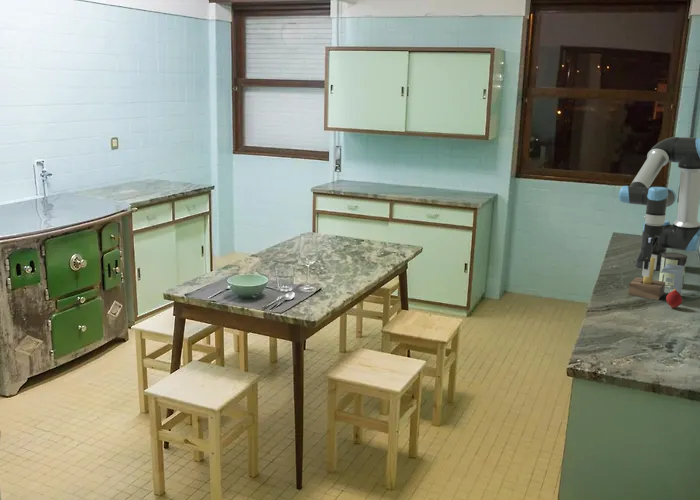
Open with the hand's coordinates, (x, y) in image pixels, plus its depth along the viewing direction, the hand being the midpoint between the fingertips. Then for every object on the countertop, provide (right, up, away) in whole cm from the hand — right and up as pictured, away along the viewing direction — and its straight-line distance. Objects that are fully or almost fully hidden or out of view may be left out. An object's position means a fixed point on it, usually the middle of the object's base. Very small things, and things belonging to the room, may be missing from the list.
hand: (648, 272), depth 281 cm
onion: (+2, -14, -16) cm, 22 cm away
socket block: (0, -9, +2) cm, 9 cm away
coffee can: (+17, -6, +15) cm, 24 cm away
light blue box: (+7, -10, -3) cm, 13 cm away
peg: (0, -9, +2) cm, 9 cm away
